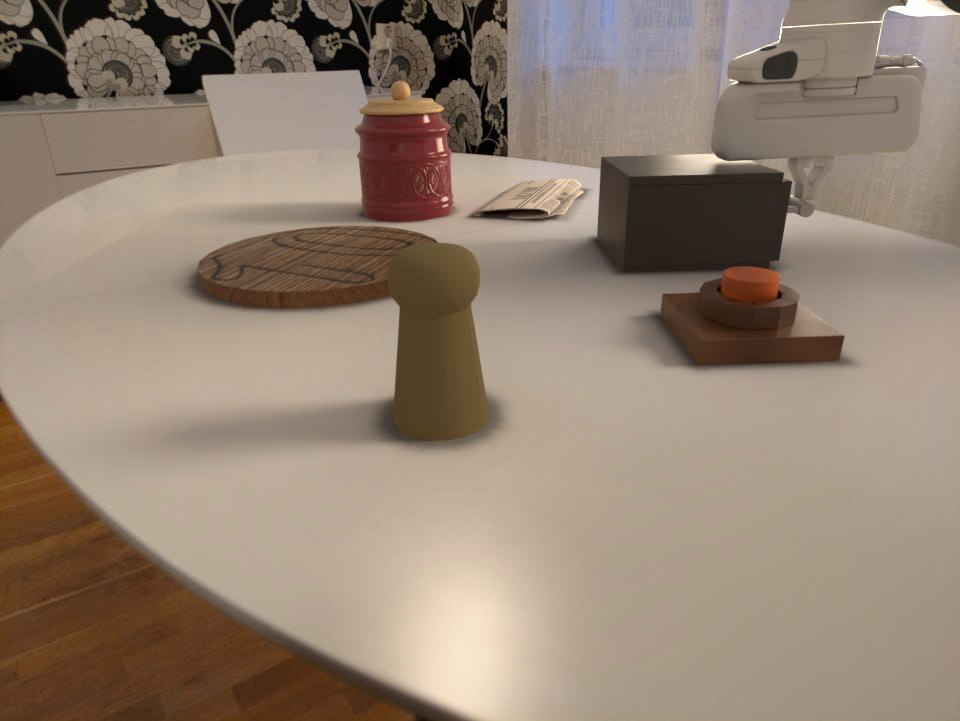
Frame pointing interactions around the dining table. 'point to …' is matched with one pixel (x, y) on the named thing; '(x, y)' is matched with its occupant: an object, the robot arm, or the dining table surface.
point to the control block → (748, 328)
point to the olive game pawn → (437, 343)
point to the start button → (750, 284)
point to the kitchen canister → (404, 158)
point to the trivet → (306, 266)
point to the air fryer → (687, 212)
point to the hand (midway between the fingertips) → (803, 200)
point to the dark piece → (786, 206)
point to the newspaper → (536, 199)
